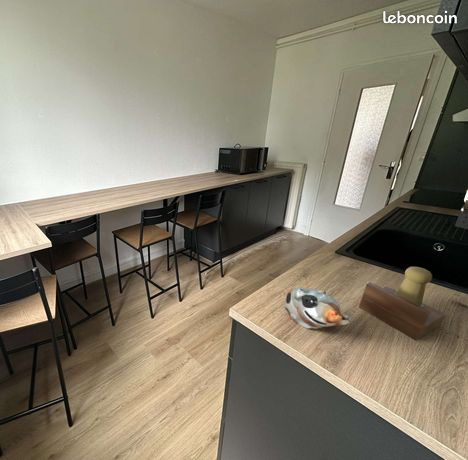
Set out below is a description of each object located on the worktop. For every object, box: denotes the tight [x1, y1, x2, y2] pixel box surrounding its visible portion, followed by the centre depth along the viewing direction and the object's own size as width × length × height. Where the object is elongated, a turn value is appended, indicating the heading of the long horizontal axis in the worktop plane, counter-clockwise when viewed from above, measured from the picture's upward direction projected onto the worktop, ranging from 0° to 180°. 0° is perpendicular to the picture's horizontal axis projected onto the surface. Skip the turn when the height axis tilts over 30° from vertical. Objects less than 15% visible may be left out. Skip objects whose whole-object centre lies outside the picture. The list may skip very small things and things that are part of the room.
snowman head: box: [284, 287, 352, 330], centre depth 70 cm, size 15×12×14 cm
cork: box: [395, 266, 433, 307], centre depth 70 cm, size 6×6×11 cm
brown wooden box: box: [358, 281, 447, 341], centre depth 71 cm, size 12×14×9 cm
